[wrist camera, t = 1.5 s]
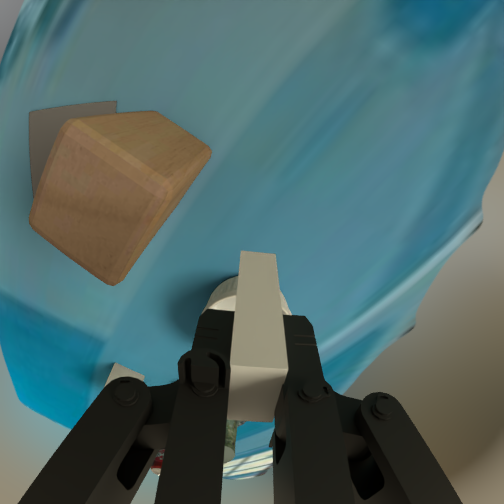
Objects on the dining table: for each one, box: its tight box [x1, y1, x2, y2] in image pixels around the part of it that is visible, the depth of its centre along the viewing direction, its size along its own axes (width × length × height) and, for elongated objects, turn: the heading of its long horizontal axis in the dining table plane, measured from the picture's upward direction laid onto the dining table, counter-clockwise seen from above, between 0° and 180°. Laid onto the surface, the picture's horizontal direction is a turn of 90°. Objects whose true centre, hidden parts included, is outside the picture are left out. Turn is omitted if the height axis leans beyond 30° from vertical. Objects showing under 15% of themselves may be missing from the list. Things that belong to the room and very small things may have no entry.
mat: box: [29, 101, 117, 198], centre depth 36 cm, size 16×16×1 cm
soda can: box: [150, 448, 165, 476], centre depth 62 cm, size 7×7×12 cm
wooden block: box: [29, 111, 212, 286], centre depth 27 cm, size 10×10×20 cm
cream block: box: [105, 363, 145, 386], centre depth 51 cm, size 4×7×10 cm, turn 62°
